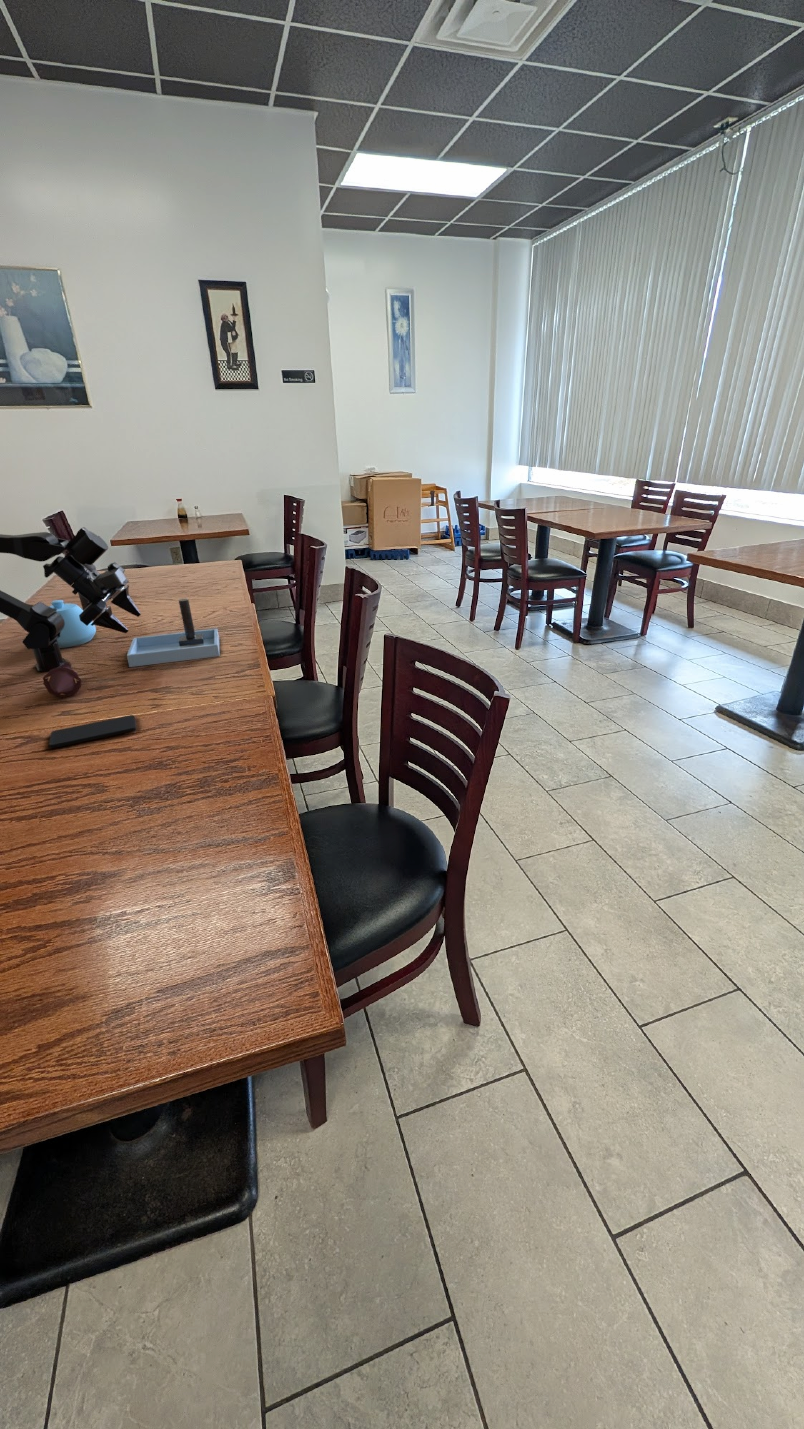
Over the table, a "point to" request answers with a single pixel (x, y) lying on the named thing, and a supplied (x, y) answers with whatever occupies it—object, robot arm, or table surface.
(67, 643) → the sugar bowl
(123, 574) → the robot arm
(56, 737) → the smartphone
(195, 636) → the brush
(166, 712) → the table surface
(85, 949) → the table surface
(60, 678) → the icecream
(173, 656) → the tray
